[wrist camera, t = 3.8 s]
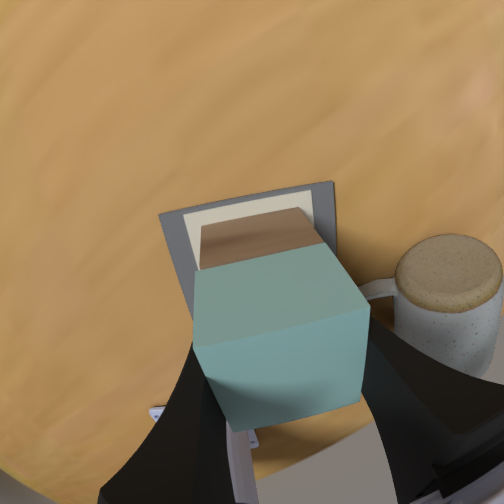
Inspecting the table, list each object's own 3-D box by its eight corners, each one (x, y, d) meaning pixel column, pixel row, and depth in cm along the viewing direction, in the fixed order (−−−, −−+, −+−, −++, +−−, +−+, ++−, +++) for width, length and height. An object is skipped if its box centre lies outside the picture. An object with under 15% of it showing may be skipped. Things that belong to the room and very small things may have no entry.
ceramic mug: (458, 213, 18) (536, 271, 11) (457, 299, 22) (509, 361, 15) (321, 273, 19) (370, 369, 12) (345, 354, 23) (379, 436, 16)
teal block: (329, 335, 14) (359, 401, 11) (225, 360, 14) (233, 432, 11) (325, 242, 12) (370, 305, 8) (195, 271, 12) (192, 348, 8)
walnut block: (305, 286, 18) (326, 331, 15) (221, 303, 18) (225, 353, 15) (298, 206, 16) (323, 241, 12) (201, 225, 16) (199, 266, 12)
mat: (335, 324, 21) (337, 326, 20) (205, 351, 20) (205, 354, 20) (331, 180, 16) (333, 182, 15) (158, 214, 15) (158, 216, 15)
